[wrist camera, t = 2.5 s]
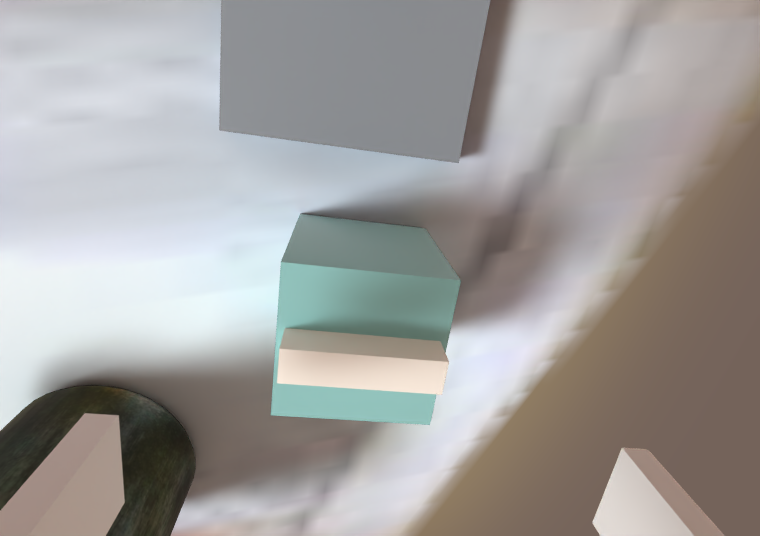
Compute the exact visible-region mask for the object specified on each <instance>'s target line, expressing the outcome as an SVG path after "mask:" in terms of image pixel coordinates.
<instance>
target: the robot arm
mask: <svg viewBox="0 0 760 536" xmlns="http://www.w3.org/2000/svg"><path fill="white" fill-rule="evenodd" d="M124 503H125V499H124V485H123V470H122V456H121V441H120V427H119V415H105V414H89V413H85V414H84V415H83V416H82V417H81V418H80V420H79V421H78V422H77V423H76V424H75V425H74V426H73V428H72V429H71V430H70V431H69V432H68V433H67V435H66V436H65V437H64V438H63V439H62V440H61V441H60V443H59V444H58V445H57V446H56V447H55V448H54V449H53V451H52V452H51V453H50V454H49V455H48V456H47V458H46V459H45V460H44V461H43V462H42V463H41V464H40V466H39V467H38V468H37V469H36V470H35V471H34V473H33V474H32V475H31V476H30V477H29V478H28V479H27V481H26V482H25V483H24V484H23V485H22V486H21V487H20V489H19V490H18V491H17V492H16V493H15V494H14V496H13V497H12V498H11V499H10V500H9V501H8V502H7V504H6V505H5V506H4V507H3V508H2V509H1V511H0V536H106V534H107V533H108V531H109V529H110V527H111V526H112V524H113V522H114V520H115V519H116V517H117V515H118V513H119V512H120V510H121V508H122V506H123V505H124ZM593 524H594V526H595V528H596V529H597V531H598V532H599V534H600V536H724V535H723V533H722V532H721V531H720V530H719V529H718V528H717V527H716V526H715V525H714V524H713V522H712V521H711V520H710V519H709V518H708V517H707V516H706V515H705V513H704V512H703V511H702V510H701V509H700V508H699V507H698V506H697V504H696V503H695V502H694V501H693V500H692V499H691V498H690V497H689V495H688V494H687V493H686V492H685V491H684V490H683V489H682V487H681V486H680V485H679V484H678V483H677V482H676V481H675V480H674V478H673V477H672V476H671V475H670V474H669V473H668V472H667V471H666V470H665V468H664V467H663V466H662V465H661V464H660V463H659V462H658V460H657V459H656V458H655V457H654V456H653V455H652V454H651V453H650V451H649V450H647V449H633V448H622V449H621V452H620V454H619V457H618V460H617V462H616V465H615V467H614V470H613V472H612V475H611V477H610V480H609V482H608V485H607V488H606V490H605V492H604V495H603V497H602V500H601V503H600V505H599V508H598V510H597V513H596V515H595V518H594V520H593Z"/></svg>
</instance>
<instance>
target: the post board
mask: <svg viewBox="0 0 760 536" xmlns="http://www.w3.org/2000/svg"><path fill="white" fill-rule="evenodd" d="M489 5H490V0H221V60H220V125H219V130H220V131H228V132H235V133H242V134H249V135H257V136H264V137H271V138H279V139H286V140H293V141H301V142H308V143H315V144H323V145H330V146H337V147H345V148H352V149H359V150H367V151H374V152H381V153H389V154H396V155H403V156H411V157H418V158H425V159H433V160H440V161H447V162H454V163H459V159H460V154H461V149H462V144H463V138H464V133H465V128H466V123H467V118H468V113H469V108H470V103H471V97H472V92H473V87H474V82H475V77H476V72H477V67H478V62H479V56H480V51H481V46H482V41H483V36H484V31H485V26H486V21H487V15H488V10H489Z"/></svg>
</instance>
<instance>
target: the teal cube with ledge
mask: <svg viewBox="0 0 760 536" xmlns="http://www.w3.org/2000/svg"><path fill="white" fill-rule="evenodd" d="M460 283H461V280H460V278H459V277H458V275H457V274H456V273H455V271H454V270H453V268H452V267H451V265H450V264H449V262H448V261H447V259H446V258H445V256H444V255H443V254H442V252H441V251H440V249H439V248H438V246H437V245H436V243H435V242H434V240H433V239H432V237H431V236H430V234H429V233H428V232H427V230H426V229H425V228H418V227H410V226H401V225H393V224H384V223H375V222H367V221H358V220H350V219H341V218H332V217H324V216H315V215H307V214H300V216H299V218H298V221H297V223H296V226H295V228H294V231H293V233H292V236H291V238H290V241H289V243H288V246H287V248H286V251H285V253H284V256H283V258H282V261H281V270H280V285H279V300H278V315H277V329H276V344H275V359H274V374H273V389H272V404H271V415H274V416H290V417H307V418H323V419H340V420H357V421H373V422H390V423H407V424H423V425H430V422H431V417H432V412H433V408H434V403H435V399H436V394H439V395H442V392H443V387H444V383H445V378H446V374H447V369H448V365H449V361H448V358H447V356H446V354H445V352H446V348H447V343H448V338H449V334H450V329H451V324H452V320H453V315H454V310H455V306H456V301H457V297H458V292H459V287H460Z"/></svg>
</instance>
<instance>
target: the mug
mask: <svg viewBox="0 0 760 536" xmlns="http://www.w3.org/2000/svg"><path fill="white" fill-rule="evenodd" d="M85 413H89V414H105V415H119V427H120V441H121V456H122V470H123V485H124V499H125V503H124V505H123V506H122V508H121V510H120V512H119V513H118V515H117V517H116V519H115V520H114V522H113V524H112V526H111V527H110V529H109V531H108V533H107V534H106V536H170V535H171V533H172V530H173V528H174V525H175V523H176V520H177V518H178V515H179V513H180V510H181V508H182V505H183V503H184V500H185V498H186V495H187V493H188V490H189V488H190V485H191V483H192V480H193V478H194V473H195V455H194V451H193V447H192V445H191V442H190V440H189V438H188V436H187V434H186V432H185V430H184V429H183V427H182V426H181V424H180V423H179V422H178V421H177V420H176V419H175V417H174V416H173V415H172V414H171V413H169V412H168V411H167V410H166V409H164V408H163V407H162V406H160V405H159V404H157V403H156V402H154V401H152V400H151V399H149V398H146V397H144V396H142V395H140V394H138V393H135V392H131V391H128V390H125V389H121V388H115V387H110V386H98V385H92V386H78V387H72V388H66V389H61V390H57V391H54V392H51V393H48V394H46V395H44V396H42V397H40V398H38V399H36V400H34V401H33V402H32V403H30V404H29V405H28V406H27V407H25V408H24V409H23V410H22V411H21V412H20V413H19V414H18V415H17V416H16V417H15V418H14V419H12V420H11V421H10V422H9V423H8V424H7V425H6V426H5V427H4V428H3V429H2V430H1V431H0V511H1V509H2V508H3V507H4V506H5V505H6V504H7V502H8V501H9V500H10V499H11V498H12V497H13V496H14V494H15V493H16V492H17V491H18V490H19V489H20V487H21V486H22V485H23V484H24V483H25V482H26V481H27V479H28V478H29V477H30V476H31V475H32V474H33V473H34V471H35V470H36V469H37V468H38V467H39V466H40V464H41V463H42V462H43V461H44V460H45V459H46V458H47V456H48V455H49V454H50V453H51V452H52V451H53V449H54V448H55V447H56V446H57V445H58V444H59V443H60V441H61V440H62V439H63V438H64V437H65V436H66V435H67V433H68V432H69V431H70V430H71V429H72V428H73V426H74V425H75V424H76V423H77V422H78V421H79V420H80V418H81V417H82V416H83V415H84V414H85Z"/></svg>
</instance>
